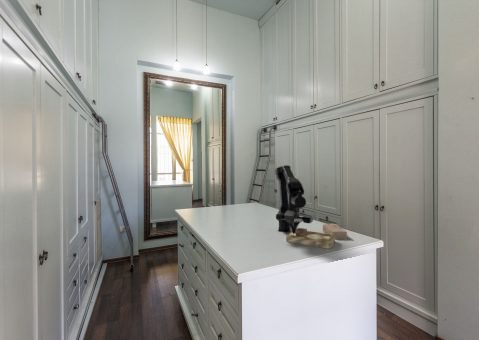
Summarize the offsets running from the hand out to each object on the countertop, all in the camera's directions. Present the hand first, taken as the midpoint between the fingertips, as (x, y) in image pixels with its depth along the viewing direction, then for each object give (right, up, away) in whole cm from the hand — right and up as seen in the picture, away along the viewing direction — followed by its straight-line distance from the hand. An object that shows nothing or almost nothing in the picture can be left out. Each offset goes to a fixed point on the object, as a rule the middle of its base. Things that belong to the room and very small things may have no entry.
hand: (293, 233), depth 124 cm
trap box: (+8, -4, -2) cm, 9 cm away
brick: (+26, -4, +10) cm, 28 cm away
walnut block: (+3, -1, -2) cm, 4 cm away
